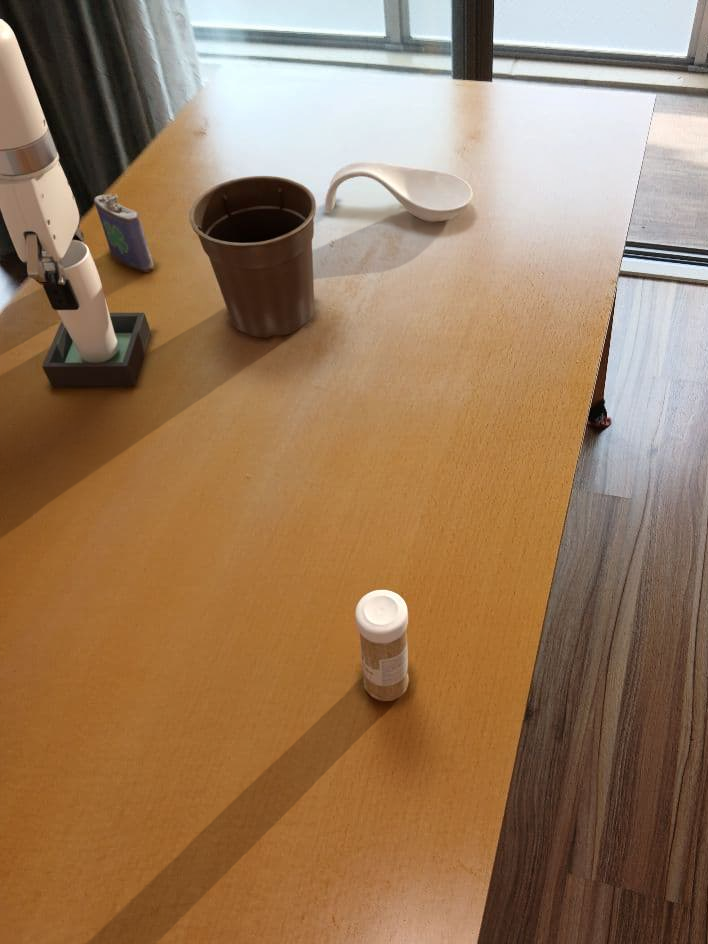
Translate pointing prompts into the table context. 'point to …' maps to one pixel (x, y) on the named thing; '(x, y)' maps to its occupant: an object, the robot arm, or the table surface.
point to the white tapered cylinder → (86, 306)
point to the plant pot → (260, 251)
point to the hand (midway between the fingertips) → (74, 288)
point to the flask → (124, 233)
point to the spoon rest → (411, 189)
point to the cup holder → (115, 372)
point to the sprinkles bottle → (383, 644)
